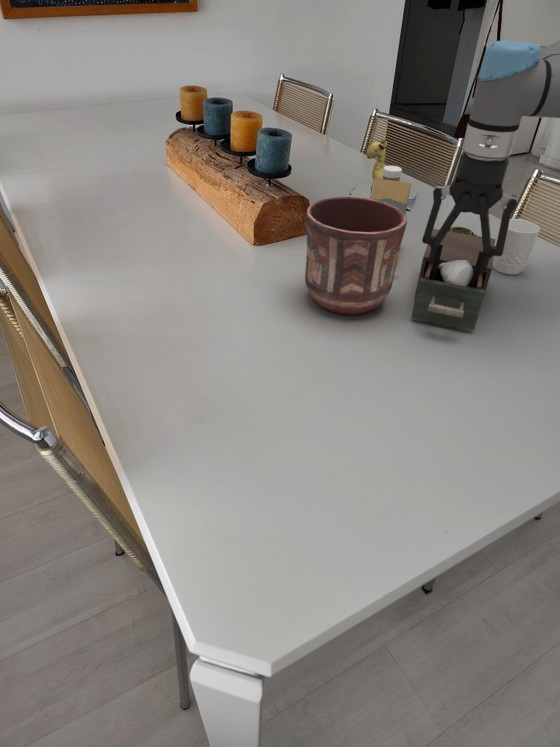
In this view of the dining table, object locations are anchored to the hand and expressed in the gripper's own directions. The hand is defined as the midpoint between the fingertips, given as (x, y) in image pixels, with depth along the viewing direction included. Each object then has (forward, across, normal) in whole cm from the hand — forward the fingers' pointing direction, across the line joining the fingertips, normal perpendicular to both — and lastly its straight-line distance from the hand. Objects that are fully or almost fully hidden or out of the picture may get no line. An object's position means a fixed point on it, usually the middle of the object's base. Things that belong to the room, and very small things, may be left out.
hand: (452, 283), depth 101 cm
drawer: (+6, 0, 0) cm, 6 cm away
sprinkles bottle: (+7, -20, +42) cm, 47 cm away
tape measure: (+7, 0, +34) cm, 34 cm away
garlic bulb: (0, 0, 0) cm, 1 cm away
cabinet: (+7, 0, +10) cm, 13 cm away
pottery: (+7, -19, -2) cm, 20 cm away
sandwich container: (+7, -17, +20) cm, 28 cm away
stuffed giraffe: (+7, -24, +60) cm, 65 cm away
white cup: (+7, +11, +26) cm, 30 cm away
